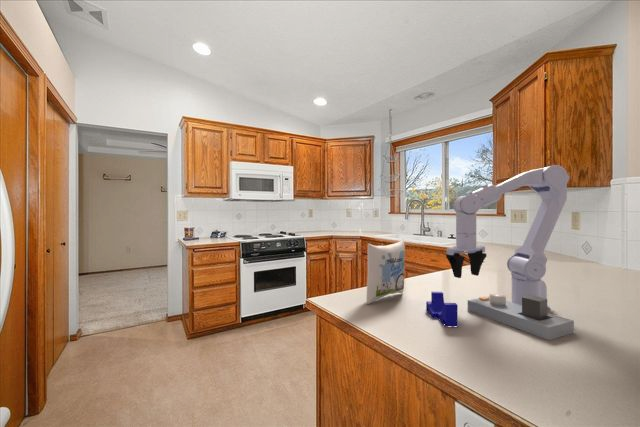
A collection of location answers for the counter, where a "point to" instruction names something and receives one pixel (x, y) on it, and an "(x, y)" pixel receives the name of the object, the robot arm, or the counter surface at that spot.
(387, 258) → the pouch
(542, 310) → the plug
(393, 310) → the counter surface
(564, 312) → the counter surface
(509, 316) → the power strip
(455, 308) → the cable clip
